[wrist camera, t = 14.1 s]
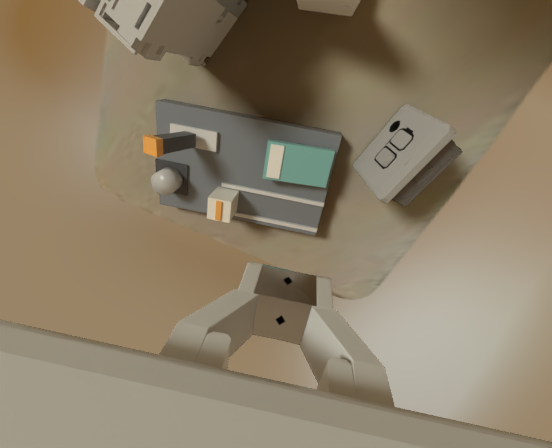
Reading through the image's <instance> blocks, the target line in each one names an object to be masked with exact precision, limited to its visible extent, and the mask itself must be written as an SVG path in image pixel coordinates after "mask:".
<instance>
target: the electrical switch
mask: <svg viewBox="0 0 552 448" xmlns="http://www.w3.org/2000/svg"><path fill="white" fill-rule="evenodd" d="M455 133H456V130H455V129H454V128H453V127H452V126H450V125H449V124H446V123H444V122H442V121H440V120H438V119H436V118H434V117H432V116H430V115H428V114H426V113H424V112H422V111H420V110H418V109H416V108H414V107H412V106H410V105H408V104H406V105H404V106H402V107H401V108H400V109H399V111H398V112H397V113H396V114H395V115H394V116H393V118H392V119H391V120H390V121H389V122H388V123H387V125H386V126H385V127H384V128H383V129H382V131H381V132H380V133H379V134H378V135H377V136H376V138H375V139H374V140H373V141H372V142H371V144H370V145H369V146H368V147H367V148H366V149H365V151H364V152H363V153H362V154H361V155H360V156H359V158H358V159H357V160H356V161H355V163H354V166H353V168H354V169H355V170H356V171H357V173H358V174H359V175H360V177H361V178H362V179H363V180H364V182H365V183H366V184H367V185H368V187H369V188H370V189H371V190H372V192H373V193H374V194H375V195H376V197H377V198H378V199H379V200H380V201H382V202H383V203H388V202H389V201H390V200H391V199H392V200H393V201H395V202H398V203H400V204H401V205H403V206H405V207H406V206H407V205H408V204H409V203H410V202H411V201H412V200H413V199H414V198H415V197H416V196H417V195H418V194H419V193H420V192H421V191H422V190H424V189H425V188H426V187H427V186H428V185H429V184H430V183H431V182H432V181H433V180H434V179H435V178H436V177H437V176H438V175H439V174H440V173H441V172H442V171H443V170H444V169H445V168H446V167H447V166H449V165H450V164H451V163H452V162H453V161H454V160H455V159H456V158H457V157H458V156H459V155H460V154H461V153H462V151H461V149H460V148H459V147H457V146H456V144H455V143H454V141H453V140H452V139H453V138H454V137H455ZM450 158H451V159H450ZM430 162H431V163H430ZM429 165H430V166H431V167H432V168H429ZM416 180H417V181H416ZM408 182H409V183H408ZM397 193H398V194H397Z"/></svg>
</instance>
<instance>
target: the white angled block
mask: <svg viewBox="0 0 552 448" xmlns="http://www.w3.org/2000/svg"><path fill="white" fill-rule="evenodd" d="M360 1H361V0H297V4H298V9H300V10H307V11H315V12H322V13H329V14H337V15H344V16H351V17H352V15H353V13H354V12H355V10H356V8H357V6H358V5H359V3H360Z"/></svg>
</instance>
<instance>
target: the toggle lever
mask: <svg viewBox="0 0 552 448" xmlns="http://www.w3.org/2000/svg"><path fill="white" fill-rule="evenodd" d="M143 145H144V153H146V154H149V155H152V156H155V157H160V156H163V154H167V153H172V152H176V151H181V150H185V149H190V148H195V147H196V134H194V133H191V132H187V131H182V132H175V133H167V134H160V135H143Z"/></svg>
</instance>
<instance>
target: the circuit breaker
mask: <svg viewBox="0 0 552 448" xmlns="http://www.w3.org/2000/svg"><path fill="white" fill-rule="evenodd" d="M78 1H79V2H80V3H81V4H82V5H83V6H85V7H87V8H89V9H91V10H93V11H95V15H94V16H95V17H96V18H97V19H98V20H99V21H100V22H101V23H102V24H103V25H104V26H105V27H106V28H107V29H108V30H109V31H110V32H111V33H112V34H113V35H114V36H116V37H117V38H118V39H119V40H120V41H121V42H122V43H123V44H124V45H125V46H126V47H127V48H128V49H129V50H130V51H131V52H132V53H133V54H135V55H137V53H139V54H140V55H141V56H142V57H143V58H146V59H150V60H158V61H160V60H161V59H162V57H163V56H164V54H165V52H169V53H174V54H179V55H180V56H181V57H182V58H183V59H184V60H185V61H186V62H187V63H188V64H189V65H196V66H200V64H201V65H202V66H203V67H204V66H205V65H206V63H205V62H204V60H205V58H206V57H211V56H212V55H213V53H214V52H215V50H216V49H217V47H218V46H219V45H220V43H221V42H222V40H223V39H224V38H225V36H226V35H227V33H228V32H229V30H230V29H231V28H232V26H233V25H234V23H235V22H236V21H237V19H238V18H239V16H240V15H241V13H242V12H243V11H244V9H245V8H246V6H247V3H246V2H245V1H244V0H78Z"/></svg>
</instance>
